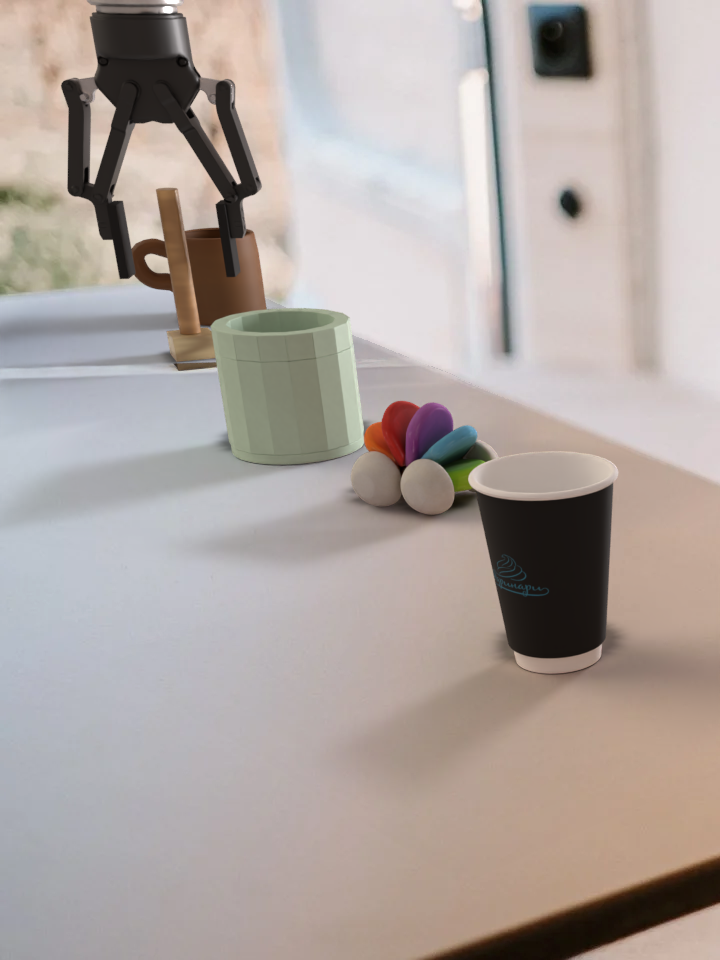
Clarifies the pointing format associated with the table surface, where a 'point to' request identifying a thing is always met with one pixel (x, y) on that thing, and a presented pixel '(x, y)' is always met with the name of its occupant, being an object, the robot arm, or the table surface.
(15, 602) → the table surface
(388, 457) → the rainbow petal wheeled toy
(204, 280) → the mug
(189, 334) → the brush
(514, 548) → the dixie cup
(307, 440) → the jar
